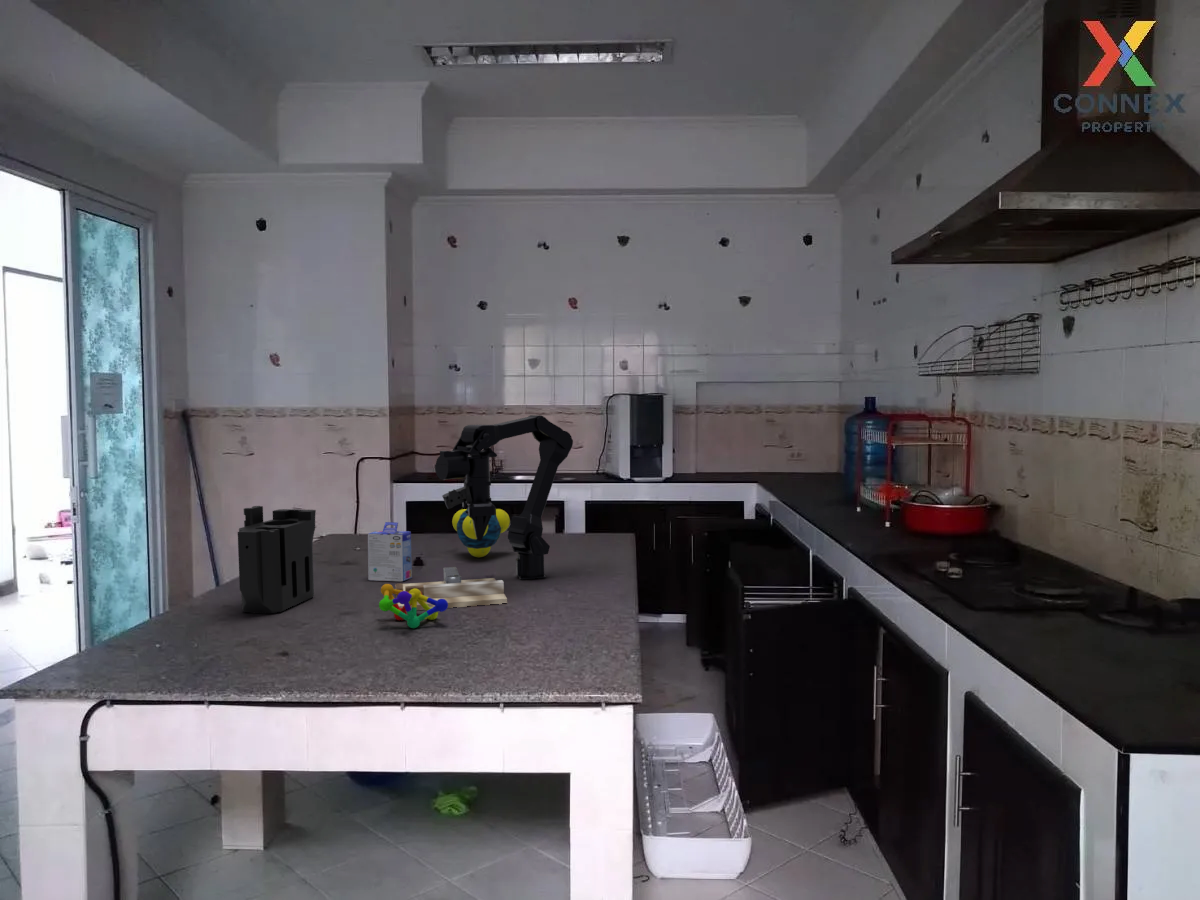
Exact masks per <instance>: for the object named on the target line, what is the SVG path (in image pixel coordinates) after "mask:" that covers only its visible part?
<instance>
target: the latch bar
mask: <svg viewBox="0 0 1200 900" xmlns="http://www.w3.org/2000/svg"><path fill="white" fill-rule="evenodd" d="M442 568H443V581H444V582H445V584H450V583H461V580H462V575H460V573H459V571H458V568H457V567H456V566H450V567H442Z"/></svg>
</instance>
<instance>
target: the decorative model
mask: <svg viewBox="0 0 1200 900" xmlns="http://www.w3.org/2000/svg"><path fill="white" fill-rule="evenodd" d="M380 592H381V594H382V596H383V598H382V599H381V600H379V603H378V608H379V609H380V611H383V612H388V611H390V612H391V613H393V617H394V619H395V620H397V621H400V620H401V621H404V620H405V621H406V624H407V626H408V627H409V628H410V629H416V628H419V626H420V625H421V622H423V621H425V620H427V619H428V620H429V621H434V620H436V619H437V618H438V616H439V612H442V613H443V612H445V611H447V609H449V608H448V602H447V601H446V600H445V599H439V600H434V599H431V598H429V597H426V596H424V595H422V592H421V591H420V590H418V589H416V588H414V589H411V590H410V591H409V592H407V591H402V590H397V589H395V588H394V586H393V585H392V584H391V583H384V584H383V585H382V586H381V588H380ZM396 594H397V595H398V596H397V598H396V597H394V595H396ZM417 602H418V603H419V604H420V605H421V606H422V607H423V608H424V609H425V610H424V611H425V612H423V613H421V614H419V615H417V611H418V610H417ZM425 602H428V603H430V604H433V605H435V606H434V607H431V608H430V607H429V606H428V605H427V604H426V603H425ZM397 603H400V604H404V606H403V607H402V608H400V607H399V605H398V604H397ZM411 605H412V609H411V607H410V606H411Z"/></svg>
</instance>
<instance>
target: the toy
mask: <svg viewBox="0 0 1200 900" xmlns="http://www.w3.org/2000/svg"><path fill="white" fill-rule="evenodd" d="M465 511H468V508H466V509H465V508H464V509H463V508H461V509H459V510H458V511H456V513H454V514H453V517H452V519H451V520H452V521H451V523H452V526H453V529H454V530H455V531H456V533H457V536H458V538H459V540H460V542H461V543H462V545H463V546H464V547H466V548H467V551H468V553H469V554H470V555H471V556H473V557H475V558H483V557H485V556H488V554H489V553H490V551H491V549H492V546H494V545H496V543H497V541H498V540H499V538H500V536H501V534H503V533H505V532H506V531H507V529H508V528H509V526H510V524H511V519H510V516H509V514H508V513H507V512H506V511H505V510H503V509H501V508H496V515H492V516H491V518H490V521H489V523H488V526H487V528H486V531H485V533H484V536H483V538H482V540H481V541H477V538H476V534H475V530H474V526H473V521H472V519H471V518H470V517H469V516H468V515H467V513H466V512H465Z"/></svg>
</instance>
